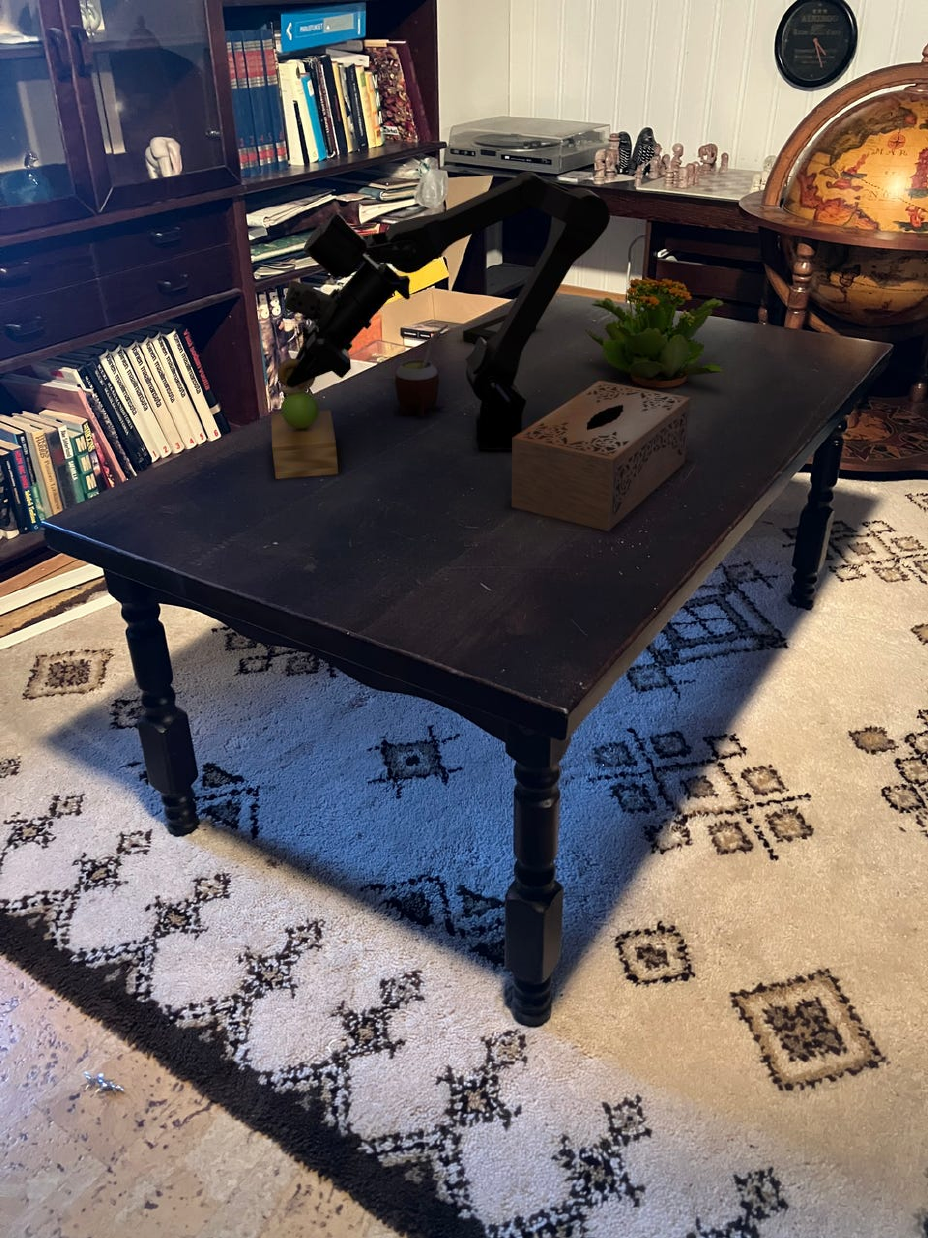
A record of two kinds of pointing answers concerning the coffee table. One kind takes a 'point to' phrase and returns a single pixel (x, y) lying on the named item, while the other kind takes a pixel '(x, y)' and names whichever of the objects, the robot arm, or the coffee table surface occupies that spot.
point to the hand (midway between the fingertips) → (288, 382)
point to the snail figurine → (297, 398)
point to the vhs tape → (484, 330)
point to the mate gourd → (418, 384)
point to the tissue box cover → (599, 454)
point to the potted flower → (655, 334)
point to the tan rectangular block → (304, 447)
